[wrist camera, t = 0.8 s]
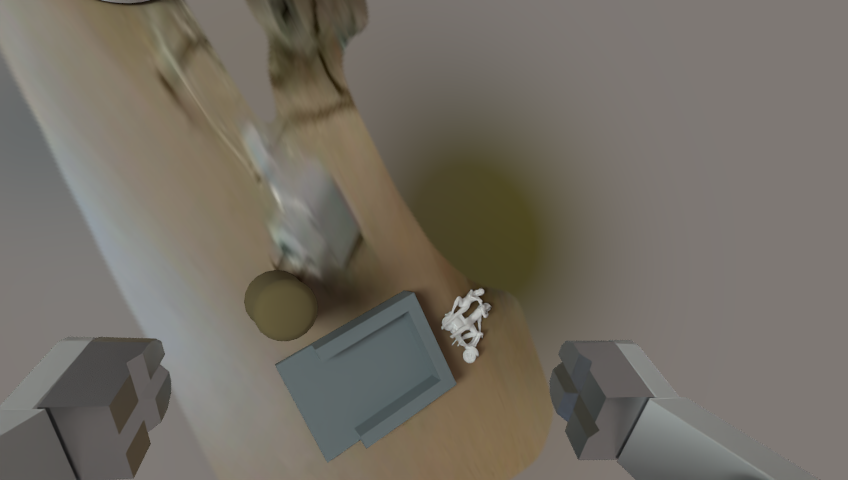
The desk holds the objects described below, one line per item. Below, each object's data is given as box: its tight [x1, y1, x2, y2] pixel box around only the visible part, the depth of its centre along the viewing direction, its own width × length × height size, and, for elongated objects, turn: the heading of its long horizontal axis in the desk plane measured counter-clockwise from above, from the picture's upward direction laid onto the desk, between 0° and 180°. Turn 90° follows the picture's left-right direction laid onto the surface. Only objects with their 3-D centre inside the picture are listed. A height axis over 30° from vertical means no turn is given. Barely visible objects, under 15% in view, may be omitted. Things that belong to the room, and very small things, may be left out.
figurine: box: [441, 289, 491, 363], centre depth 53 cm, size 3×8×8 cm
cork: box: [244, 270, 318, 341], centre depth 40 cm, size 6×6×11 cm
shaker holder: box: [275, 291, 456, 463], centre depth 47 cm, size 12×16×3 cm
